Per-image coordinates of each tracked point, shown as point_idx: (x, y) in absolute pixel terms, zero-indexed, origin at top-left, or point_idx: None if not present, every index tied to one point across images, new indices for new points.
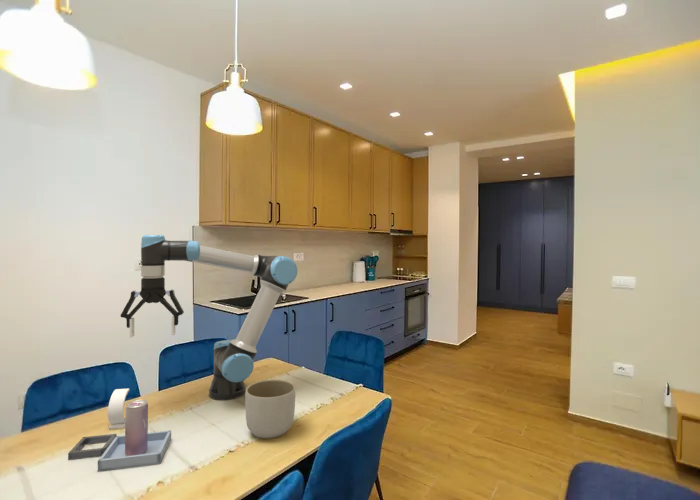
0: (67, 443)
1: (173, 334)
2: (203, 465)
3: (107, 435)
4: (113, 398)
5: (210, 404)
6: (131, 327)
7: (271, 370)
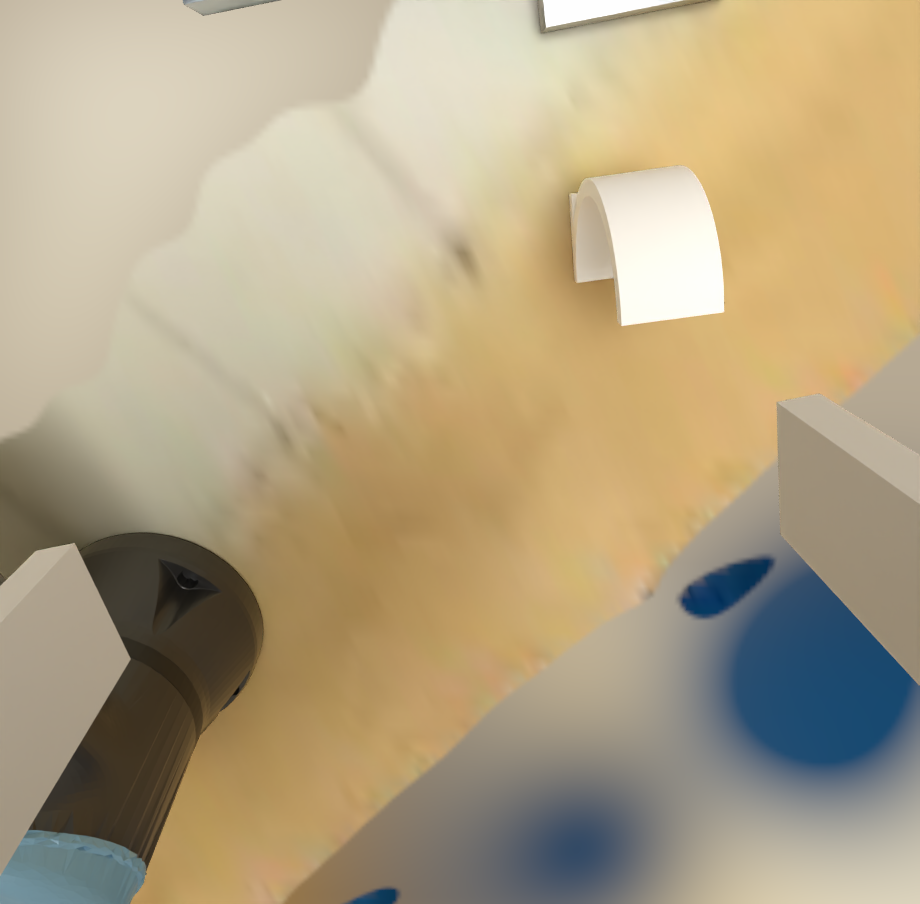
0: (812, 4)
1: (35, 552)
2: None
3: (592, 2)
4: (689, 214)
5: (189, 482)
6: (913, 485)
7: None
